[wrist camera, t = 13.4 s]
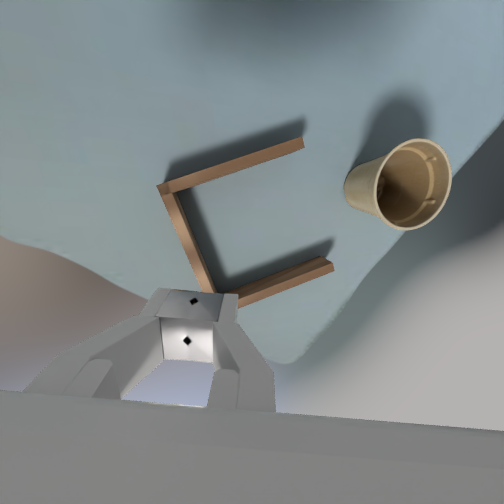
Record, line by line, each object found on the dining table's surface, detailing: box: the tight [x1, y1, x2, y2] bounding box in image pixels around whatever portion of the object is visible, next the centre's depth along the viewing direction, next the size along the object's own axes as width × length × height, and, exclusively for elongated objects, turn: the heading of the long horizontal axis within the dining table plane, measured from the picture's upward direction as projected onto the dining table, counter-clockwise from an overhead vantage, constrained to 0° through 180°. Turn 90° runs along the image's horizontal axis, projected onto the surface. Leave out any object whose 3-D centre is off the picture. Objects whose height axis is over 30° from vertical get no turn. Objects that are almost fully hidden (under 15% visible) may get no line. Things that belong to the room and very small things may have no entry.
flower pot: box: [344, 138, 452, 230], centre depth 30 cm, size 9×9×9 cm
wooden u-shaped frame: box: [157, 137, 334, 308], centre depth 31 cm, size 17×17×4 cm
